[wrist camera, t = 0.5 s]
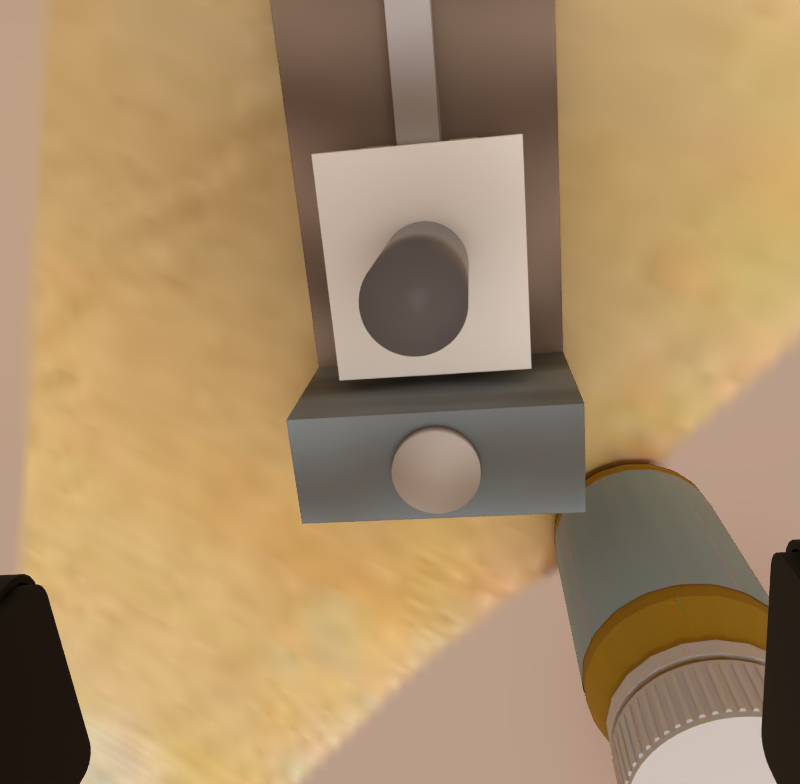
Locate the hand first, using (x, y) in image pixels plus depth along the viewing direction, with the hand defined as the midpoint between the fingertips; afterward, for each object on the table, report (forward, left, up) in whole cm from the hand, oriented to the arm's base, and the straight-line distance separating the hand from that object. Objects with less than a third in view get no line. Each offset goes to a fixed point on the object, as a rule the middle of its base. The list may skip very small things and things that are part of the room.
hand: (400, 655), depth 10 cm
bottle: (+12, +8, -23) cm, 27 cm away
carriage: (-2, 0, -21) cm, 21 cm away
